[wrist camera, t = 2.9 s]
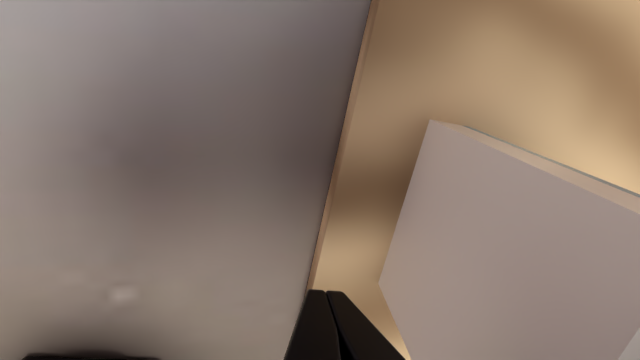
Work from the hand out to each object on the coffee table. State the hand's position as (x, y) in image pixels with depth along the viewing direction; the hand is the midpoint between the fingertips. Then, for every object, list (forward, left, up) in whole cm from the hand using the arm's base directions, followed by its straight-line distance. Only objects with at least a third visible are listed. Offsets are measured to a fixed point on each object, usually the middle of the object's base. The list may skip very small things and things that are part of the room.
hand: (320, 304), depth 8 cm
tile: (0, -5, -6) cm, 8 cm away
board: (0, -9, -8) cm, 12 cm away
